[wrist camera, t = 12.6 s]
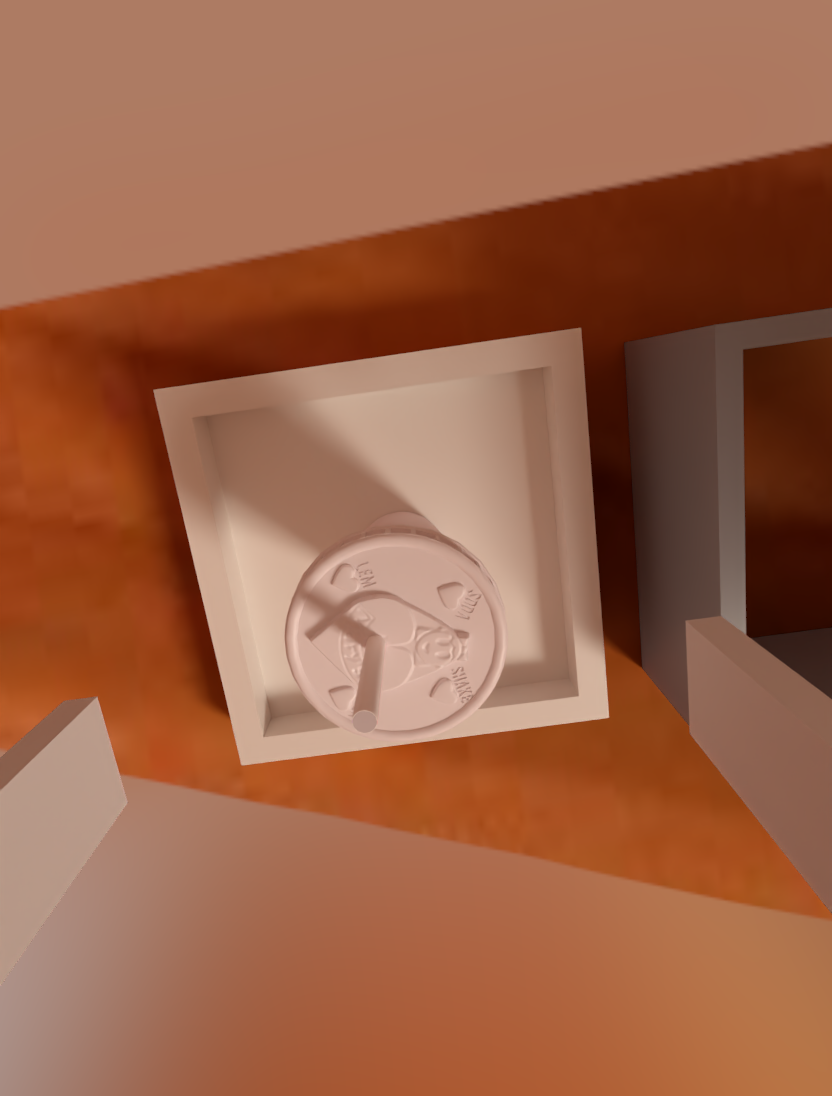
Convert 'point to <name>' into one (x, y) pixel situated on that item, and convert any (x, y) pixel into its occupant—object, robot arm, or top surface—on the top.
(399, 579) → the smoothie
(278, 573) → the tray
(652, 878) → the top surface
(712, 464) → the deep bin
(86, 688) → the top surface
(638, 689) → the top surface
